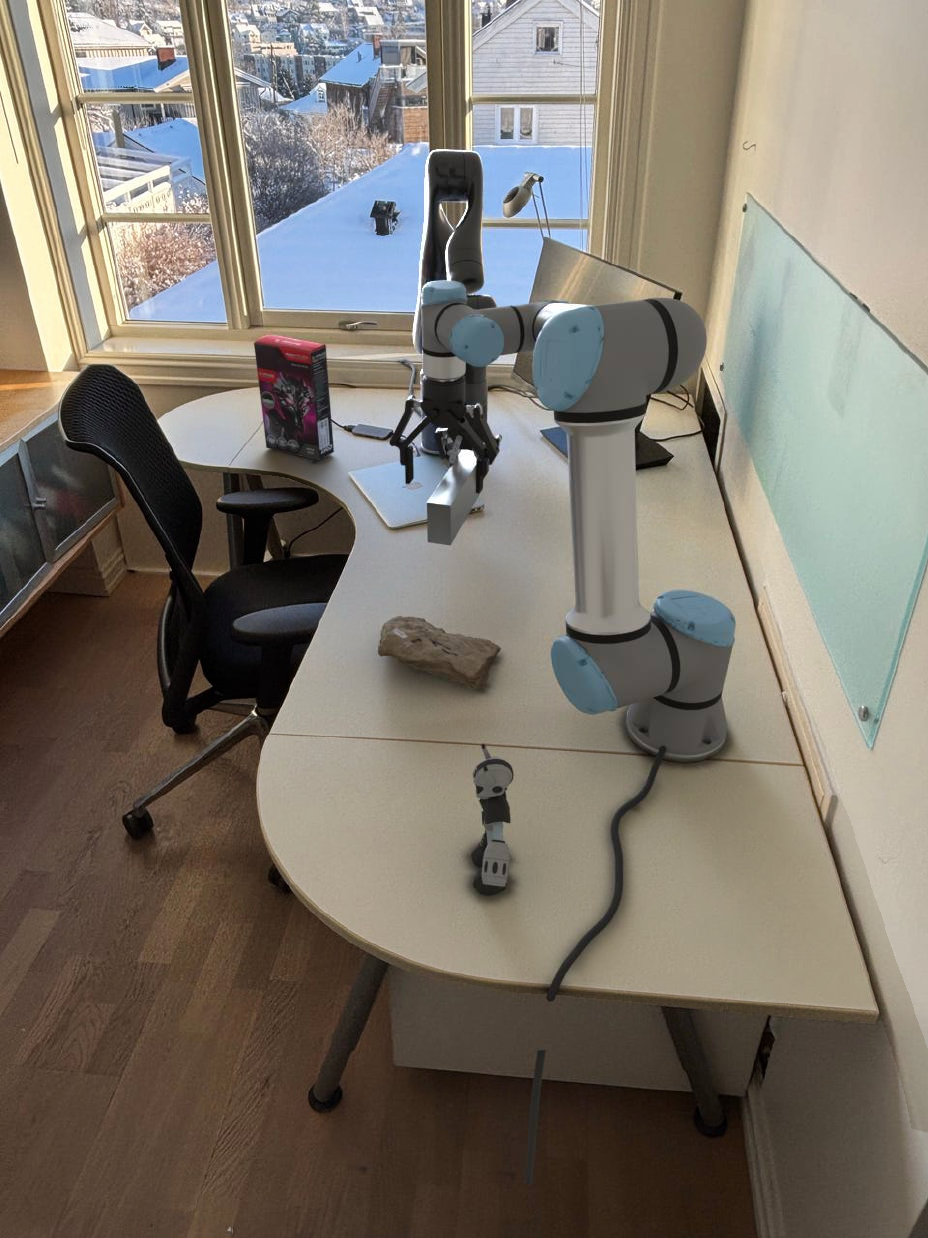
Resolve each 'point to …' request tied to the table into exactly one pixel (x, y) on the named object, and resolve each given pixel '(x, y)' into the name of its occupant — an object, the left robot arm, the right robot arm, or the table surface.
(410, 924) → the table surface
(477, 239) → the left robot arm
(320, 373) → the graphics card box
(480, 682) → the stone
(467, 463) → the bar
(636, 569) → the right robot arm
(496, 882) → the robot
